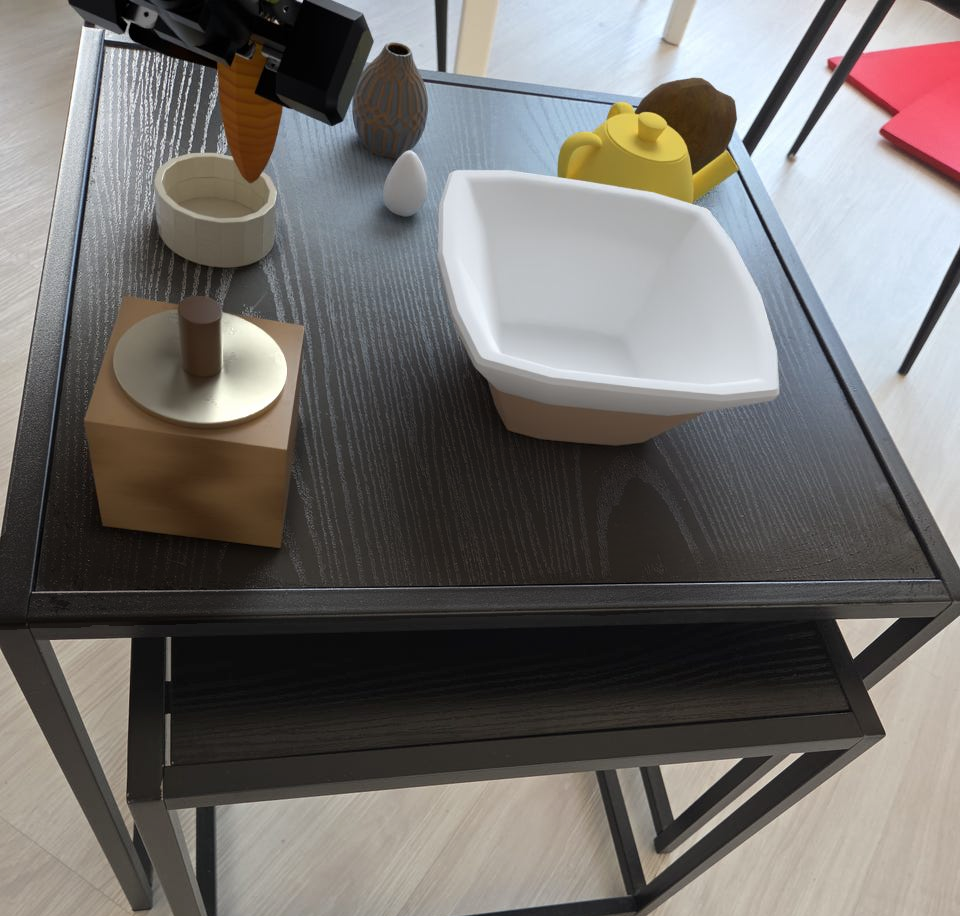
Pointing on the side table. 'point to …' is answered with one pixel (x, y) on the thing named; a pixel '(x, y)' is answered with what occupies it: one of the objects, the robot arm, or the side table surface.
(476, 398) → the side table surface
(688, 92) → the potato
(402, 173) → the egg
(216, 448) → the stand
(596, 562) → the side table surface
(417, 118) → the vase
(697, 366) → the bowl
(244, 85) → the carrot
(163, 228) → the pot
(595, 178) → the teapot
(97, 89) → the side table surface
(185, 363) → the lid
